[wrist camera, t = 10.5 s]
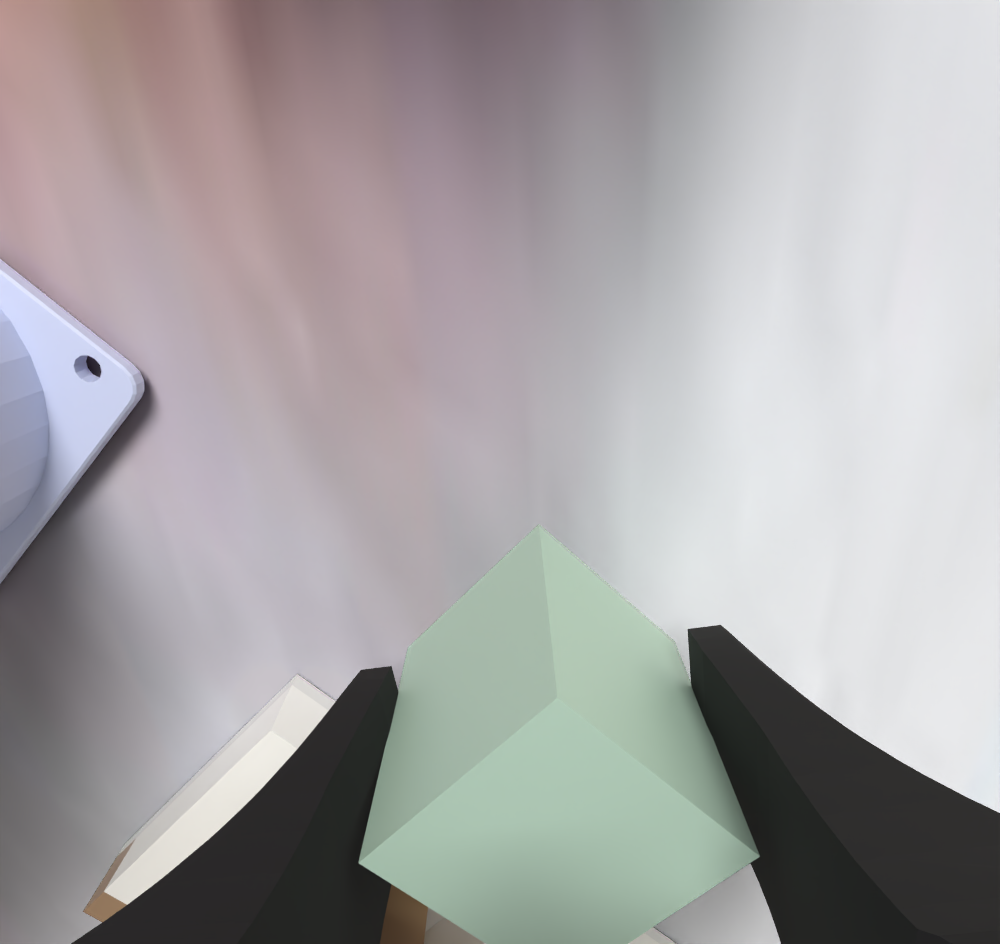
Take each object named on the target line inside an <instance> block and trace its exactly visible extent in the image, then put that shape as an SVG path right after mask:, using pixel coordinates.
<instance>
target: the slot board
mask: <svg viewBox="0 0 1000 944" xmlns="http://www.w3.org/2000/svg"><path fill="white" fill-rule="evenodd" d="M335 702H336V701H334V700H333V699H332V698H330V697H329V696H327V695H326V694H325V693H323V692H322V691H320V690H319V689H317V688H316V687H315V686H313V685H312V684H310V683H309V682H308V681H306V680H305V679H303V678H302V677H301V676H299V675H298V674H297V675H296V676H295V677H294V678H293V679H292V680H291V681H290V682H289V683H288V684H287V685H286V686H285V687H284V688H282V689H281V690H280V691H279V692H278V693H277V694H276V695H275V696H274V697H273V698H272V699H271V700H270V701H269V702H268V703H267V704H266V705H265V706H264V707H263V708H262V709H261V710H260V711H259V712H258V713H257V714H256V715H255V716H254V717H253V718H252V719H251V720H250V721H249V722H248V723H247V724H246V725H245V726H244V727H243V728H242V729H241V730H240V731H239V732H238V733H237V734H236V735H235V736H234V737H233V738H232V739H231V740H230V741H229V742H228V743H227V744H226V745H225V746H224V747H223V748H222V749H221V750H220V751H219V752H218V753H217V754H216V755H215V756H214V757H213V758H212V759H211V760H210V761H209V762H207V763H206V764H205V765H204V766H203V767H202V768H201V769H200V770H199V771H198V772H197V773H196V774H195V775H194V776H193V777H192V778H191V779H190V780H189V781H188V782H187V783H186V784H185V785H184V786H183V787H182V788H181V789H180V790H179V791H178V792H177V793H176V794H175V795H174V796H173V797H172V798H171V799H170V800H169V801H168V802H167V803H166V804H165V805H164V806H163V807H162V808H161V809H160V810H159V811H158V812H157V813H156V814H155V815H154V816H153V817H152V818H151V819H150V820H149V821H148V822H147V823H146V824H145V825H144V826H143V827H142V828H141V829H140V830H139V831H138V832H137V833H136V834H135V835H133V836H132V837H131V838H130V839H129V840H128V841H127V842H126V843H125V844H124V846H123V848H122V849H121V851H120V853H119V854H118V856H117V857H116V859H115V861H114V862H113V864H112V865H111V867H110V869H109V870H108V872H107V874H106V875H105V877H104V878H103V880H102V882H101V883H100V885H99V886H98V888H97V890H96V891H95V893H94V895H93V896H92V898H91V899H90V901H89V903H88V904H87V906H86V907H85V909H84V911H83V912H85V913H86V914H88V915H90V916H92V917H94V918H95V919H97V920H99V921H101V922H104V921H105V920H107V919H108V918H109V917H111V916H112V915H114V914H115V913H116V912H118V911H119V910H121V909H122V908H123V907H125V906H126V905H128V904H129V903H130V902H132V901H133V900H134V899H136V898H137V897H138V896H140V895H141V894H142V893H144V892H145V891H146V890H148V889H149V888H150V887H151V886H153V885H154V884H155V883H157V882H158V881H159V880H161V879H162V878H163V877H164V876H165V875H167V874H168V873H169V872H170V871H171V870H173V869H174V868H175V867H176V866H177V865H179V864H180V863H181V862H182V861H183V860H185V859H186V858H187V857H188V856H189V855H191V854H192V853H193V852H194V851H195V850H197V849H198V848H199V847H200V846H201V845H203V844H204V843H205V842H206V841H207V840H208V839H210V838H211V837H212V836H213V835H214V834H215V833H216V832H217V831H219V830H220V829H221V828H222V827H223V826H224V825H225V824H226V823H227V822H228V821H229V820H230V819H231V818H232V817H233V816H234V815H236V814H237V813H238V812H239V811H240V810H241V809H242V808H243V807H244V806H245V805H246V804H247V803H248V802H249V801H250V800H251V799H252V798H253V797H254V796H255V795H256V794H257V793H258V792H259V791H260V790H261V789H262V788H263V787H264V786H265V784H266V783H267V782H268V781H269V780H270V779H271V778H272V777H273V776H274V774H275V773H276V772H277V771H278V770H279V769H280V768H281V767H282V766H283V764H284V763H285V762H286V761H287V760H288V759H289V758H290V757H291V756H292V754H293V753H294V752H295V751H296V750H297V749H298V748H299V746H300V745H301V744H302V743H303V742H304V740H305V739H306V738H307V737H308V735H309V734H310V733H311V732H312V731H313V729H314V728H315V727H316V726H317V725H318V723H319V722H320V721H321V720H322V718H323V717H324V716H325V715H326V713H327V712H328V711H329V710H330V708H331V707H332V706H333V704H334V703H335ZM424 944H486V943H484V942H482V941H481V940H479V939H478V938H476V937H474V936H473V935H471V934H470V933H468V932H467V931H465V930H463V929H462V928H460V927H459V926H457V925H456V924H454V923H452V922H451V921H449V920H448V919H446V918H444V917H443V916H441V915H440V914H438V913H437V912H435V911H433V910H432V909H430V908H429V907H428V912H427V921H426V929H425V938H424ZM628 944H676V943H675V942H673V941H672V940H671V939H669V938H668V937H666V936H665V935H663V934H662V933H661V932H659V931H658V930H656V929H655V928H654V927H652V928H651V929H649V930H648V931H646V932H645V933H643V934H642V935H640V936H639V937H637V938H636V939H634V940H633V941H631V942H630V943H628Z"/></svg>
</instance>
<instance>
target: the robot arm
mask: <svg viewBox="0 0 1000 944" xmlns="http://www.w3.org/2000/svg"><path fill="white" fill-rule="evenodd" d="M88 356H90V357H92V358H94V359H95V360H96V361H97V362H98V363H99V364H100V367H101V371H102V372H101V376H100V377H97V376H95V375H93V374H92V373H91V372H90V370H89V369H88V367H87V363H86V360H87V357H88ZM143 393H144V380H143V377H142V375H141V373H140V371H139V370H138V369H137V368H136V367H135V366H134V365H133V364H132V363H131V362H130V361H128V360H127V359H126V358H125V357H123V356H122V355H121V354H120V353H118V352H117V351H116V350H115V349H113V348H112V347H111V346H109V345H108V344H107V343H106V342H104V341H103V340H102V339H101V338H99V337H98V336H97V335H96V334H94V333H93V332H92V331H91V330H89V329H88V328H87V327H86V326H84V325H83V324H82V323H80V322H79V321H78V320H77V319H75V318H74V317H73V316H72V315H70V314H69V313H68V312H67V311H65V310H64V309H63V308H62V307H60V306H59V305H58V304H56V303H55V302H54V301H53V300H51V299H50V298H49V297H48V296H46V295H45V294H44V293H43V292H41V291H40V290H39V289H38V288H36V287H35V286H34V285H32V284H31V283H30V282H29V281H27V280H26V279H25V278H24V277H22V276H21V275H20V274H19V273H17V272H16V271H15V270H14V269H12V268H11V267H10V266H9V265H7V264H6V263H5V262H3V261H2V260H1V259H0V584H1V582H2V581H3V580H4V578H5V577H6V576H7V575H8V573H9V572H10V571H11V569H12V568H13V567H14V565H15V564H16V563H17V561H18V560H19V559H20V557H21V556H22V555H23V553H24V552H25V551H26V549H27V548H28V547H29V546H30V544H31V543H32V542H33V540H34V539H35V538H36V536H37V535H38V534H39V532H40V531H41V530H42V528H43V527H44V526H45V524H46V523H47V522H48V520H49V519H50V518H51V517H52V515H53V514H54V513H55V511H56V510H57V509H58V507H59V506H60V505H61V503H62V502H63V501H64V499H65V498H66V497H67V495H68V494H69V493H70V491H71V490H72V489H73V488H74V486H75V485H76V484H77V482H78V481H79V480H80V478H81V477H82V476H83V474H84V473H85V472H86V470H87V469H88V468H89V466H90V465H91V464H92V462H93V461H94V460H95V459H96V457H97V456H98V455H99V453H100V452H101V451H102V449H103V448H104V447H105V445H106V444H107V443H108V441H109V440H110V439H111V437H112V436H113V435H114V433H115V432H116V431H117V430H118V428H119V427H120V426H121V424H122V423H123V422H124V420H125V419H126V418H127V416H128V415H129V414H130V412H131V411H132V410H133V408H134V407H135V406H136V404H137V403H138V402H139V401H140V399H141V397H142V395H143ZM688 642H689V657H690V673H691V687H692V689H693V692H694V694H695V697H696V700H697V702H698V705H699V707H700V710H701V712H702V715H703V717H704V720H705V722H706V725H707V727H708V729H709V731H710V733H711V735H712V737H713V740H714V742H715V745H716V747H717V750H718V752H719V755H720V757H721V760H722V762H723V765H724V767H725V770H726V772H727V775H728V777H729V780H730V782H731V785H732V787H733V790H734V792H735V795H736V797H737V800H738V802H739V805H740V807H741V810H742V812H743V815H744V817H745V820H746V822H747V825H748V827H749V830H750V832H751V835H752V837H753V840H754V842H755V845H756V847H757V850H758V852H759V855H760V857H759V858H757V859H756V860H754V861H753V862H751V865H752V867H753V870H754V872H755V874H756V877H757V879H758V881H759V883H760V886H761V888H762V891H763V894H764V896H765V899H766V901H767V904H768V906H769V909H770V912H771V914H772V917H773V920H774V923H775V926H776V929H777V932H778V935H779V938H780V941H781V944H1000V813H998V812H996V811H994V810H992V809H990V808H988V807H986V806H984V805H982V804H979V803H977V802H975V801H973V800H971V799H969V798H967V797H965V796H963V795H961V794H959V793H957V792H955V791H954V790H952V789H950V788H948V787H946V786H944V785H942V784H940V783H938V782H936V781H935V780H933V779H931V778H929V777H927V776H925V775H923V774H921V773H920V772H918V771H916V770H914V769H913V768H911V767H909V766H907V765H905V764H904V763H902V762H900V761H899V760H897V759H895V758H894V757H892V756H890V755H889V754H887V753H886V752H884V751H882V750H881V749H879V748H877V747H876V746H874V745H873V744H871V743H869V742H868V741H866V740H864V739H863V738H861V737H860V736H858V735H857V734H855V733H854V732H852V731H851V730H849V729H848V728H846V727H845V726H843V725H842V724H841V723H839V722H838V721H836V720H835V719H834V718H832V717H831V716H830V715H828V714H827V713H825V712H824V711H823V710H821V709H820V708H819V707H817V706H816V705H815V704H813V703H812V702H811V701H809V700H808V699H807V698H806V697H804V696H803V695H802V694H801V693H799V692H798V691H797V690H796V689H794V688H793V687H792V686H791V685H789V684H788V683H787V682H786V681H784V680H783V679H782V678H781V677H780V676H778V675H777V674H776V673H775V672H774V671H772V670H771V669H770V668H769V667H768V666H767V665H765V664H764V663H763V662H762V661H761V660H760V659H759V658H757V657H756V656H755V655H754V654H753V653H752V652H751V651H749V650H748V649H747V648H746V647H745V646H744V645H743V644H742V643H741V642H739V641H738V640H737V639H736V638H735V637H734V636H733V635H732V634H731V633H730V632H728V631H727V630H726V629H725V628H724V627H722V626H721V625H717V626H709V627H701V628H693V629H688ZM397 697H398V689H397V685H396V682H395V678H394V674H393V670H392V666H389V667H381V668H373V669H365V670H361V671H360V672H359V673H358V674H357V676H356V677H355V678H354V679H353V681H352V682H351V683H350V684H349V685H348V687H347V688H346V689H345V690H344V692H343V693H342V694H341V696H340V697H339V698H338V699H337V701H336V702H335V703H334V704H333V706H332V707H331V708H330V710H329V711H328V712H327V713H326V715H325V716H324V717H323V718H322V720H321V721H320V722H319V723H318V725H317V726H316V727H315V728H314V729H313V731H312V732H311V733H310V734H309V735H308V737H307V738H306V739H305V740H304V742H303V743H302V744H301V745H300V746H299V748H298V749H297V750H296V751H295V752H294V753H293V754H292V756H291V757H290V758H289V759H288V760H287V761H286V762H285V763H284V764H283V766H282V767H281V768H280V769H279V770H278V771H277V772H276V773H275V774H274V776H273V777H272V778H271V779H270V780H269V781H268V782H267V783H266V784H265V786H264V787H263V788H262V789H261V790H260V791H259V792H258V793H257V794H256V795H255V796H254V797H253V798H252V799H251V800H250V801H249V802H248V803H247V804H246V805H245V806H244V807H243V808H242V809H241V810H240V811H239V812H238V813H237V814H236V815H234V816H233V817H232V818H231V819H230V820H229V821H228V822H227V823H226V824H225V825H224V826H223V827H222V828H221V829H220V830H219V831H217V832H216V833H215V834H214V835H213V836H212V837H211V838H210V839H208V840H207V841H206V842H205V843H204V844H203V845H201V846H200V847H199V848H198V849H197V850H195V851H194V852H193V853H192V854H191V855H189V856H188V857H187V858H186V859H185V860H183V861H182V862H181V863H180V864H179V865H177V866H176V867H175V868H174V869H173V870H171V871H170V872H169V873H168V874H167V875H165V876H164V877H163V878H162V879H161V880H159V881H158V882H157V883H155V884H154V885H153V886H151V887H150V888H149V889H148V890H146V891H145V892H144V893H142V894H141V895H140V896H138V897H137V898H136V899H134V900H133V901H132V902H130V903H129V904H128V905H126V906H125V907H123V908H122V909H121V910H119V911H118V912H116V913H115V914H114V915H112V916H111V917H109V918H108V919H107V920H105V921H104V922H102V923H101V924H100V925H98V926H97V927H95V928H94V929H92V930H91V931H89V932H88V933H87V934H85V935H84V936H82V937H81V938H79V939H78V940H76V941H74V942H73V943H71V944H380V941H381V935H382V929H383V923H384V918H385V913H386V908H387V903H388V898H389V894H390V889H391V883H389V882H388V881H386V880H384V879H383V878H381V877H380V876H378V875H376V874H375V873H373V872H372V871H370V870H369V869H367V868H365V867H364V866H362V865H361V864H359V863H358V862H359V858H360V854H361V849H362V845H363V841H364V836H365V832H366V827H367V823H368V819H369V814H370V810H371V806H372V801H373V797H374V793H375V788H376V784H377V780H378V775H379V771H380V767H381V762H382V758H383V754H384V749H385V745H386V742H387V739H388V735H389V732H390V728H391V724H392V719H393V715H394V710H395V706H396V702H397Z"/></svg>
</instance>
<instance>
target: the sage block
mask: <svg viewBox="0 0 1000 944" xmlns="http://www.w3.org/2000/svg"><path fill="white" fill-rule="evenodd" d="M759 857H760V855H759V852H758V850H757V847H756V845H755V842H754V840H753V837H752V835H751V832H750V830H749V827H748V825H747V822H746V820H745V817H744V815H743V812H742V810H741V807H740V805H739V802H738V800H737V797H736V795H735V792H734V790H733V787H732V785H731V782H730V780H729V777H728V775H727V772H726V770H725V767H724V765H723V762H722V760H721V757H720V755H719V752H718V750H717V747H716V745H715V742H714V740H713V737H712V735H711V733H710V731H709V729H708V727H707V725H706V722H705V720H704V717H703V715H702V712H701V710H700V707H699V705H698V702H697V700H696V697H695V694H694V692H693V689H692V687H691V682H690V679H689V677H688V674H687V672H686V669H685V667H684V664H683V662H682V659H681V657H680V654H679V652H678V649H677V647H676V644H675V642H674V641H673V640H672V639H671V638H670V637H669V636H668V635H666V634H665V633H664V632H663V631H662V630H661V629H659V628H658V627H657V626H656V625H655V624H654V623H653V622H651V621H650V620H649V619H648V618H647V617H646V616H644V615H643V614H642V613H641V612H640V611H639V610H638V609H636V608H635V607H634V606H633V605H632V604H631V603H629V602H628V601H627V600H626V599H625V598H624V597H622V596H621V595H620V594H619V593H618V592H617V591H616V590H614V589H613V588H612V587H611V586H610V585H609V584H607V583H606V582H605V581H604V580H603V579H602V578H601V577H599V576H598V575H597V574H596V573H595V572H594V571H592V570H591V569H590V568H589V567H588V566H587V565H585V564H584V563H583V562H582V561H581V560H580V559H579V558H577V557H576V556H575V555H574V554H573V553H572V552H570V551H569V550H568V549H567V548H566V547H565V546H564V545H562V544H561V543H560V542H559V541H558V540H557V539H555V538H554V537H553V536H552V535H551V534H550V533H548V532H547V531H546V530H545V529H544V528H543V527H542V526H540V525H537V526H536V527H535V528H534V529H533V530H532V531H531V532H530V533H529V534H528V535H527V536H526V537H525V538H524V539H523V540H522V541H521V542H519V543H518V544H517V545H516V546H515V547H514V548H513V549H512V550H511V551H510V552H509V553H508V554H507V555H506V556H505V557H504V558H502V559H501V560H500V561H499V562H498V563H497V564H496V565H495V566H494V567H493V568H492V569H491V570H490V571H489V572H488V573H487V574H485V575H484V576H483V577H482V578H481V579H480V580H479V581H478V582H477V583H476V584H475V585H474V586H473V587H472V588H471V589H470V590H468V591H467V592H466V593H465V594H464V595H463V596H462V597H461V598H460V599H459V600H458V601H457V602H456V603H455V604H454V605H453V606H452V607H450V608H449V609H448V610H447V611H446V612H445V613H444V614H443V615H442V616H441V617H440V618H439V619H438V620H437V621H436V622H435V623H433V624H432V625H431V626H430V627H429V628H428V629H427V630H426V631H425V632H424V633H423V634H422V635H421V636H420V637H419V638H418V639H416V640H415V641H414V642H413V643H412V644H411V645H410V646H409V647H408V649H407V654H406V658H405V663H404V667H403V671H402V676H401V680H400V684H399V689H398V697H397V702H396V706H395V710H394V715H393V719H392V724H391V728H390V732H389V735H388V739H387V742H386V745H385V749H384V754H383V758H382V762H381V767H380V771H379V775H378V780H377V784H376V788H375V793H374V797H373V801H372V806H371V810H370V814H369V819H368V823H367V827H366V832H365V836H364V841H363V845H362V849H361V854H360V858H359V862H358V863H359V864H361V865H362V866H364V867H365V868H367V869H369V870H370V871H372V872H373V873H375V874H376V875H378V876H380V877H381V878H383V879H384V880H386V881H388V882H389V883H391V884H392V885H394V886H395V887H397V888H399V889H400V890H402V891H403V892H405V893H406V894H408V895H410V896H411V897H413V898H414V899H416V900H418V901H419V902H421V903H422V904H424V905H425V906H427V907H429V908H430V909H432V910H433V911H435V912H437V913H438V914H440V915H441V916H443V917H444V918H446V919H448V920H449V921H451V922H452V923H454V924H456V925H457V926H459V927H460V928H462V929H463V930H465V931H467V932H468V933H470V934H471V935H473V936H474V937H476V938H478V939H479V940H481V941H482V942H484V943H486V944H628V943H630V942H631V941H633V940H634V939H636V938H637V937H639V936H640V935H642V934H643V933H645V932H646V931H648V930H649V929H651V928H652V927H654V926H655V925H657V924H658V923H660V922H662V921H663V920H665V919H666V918H668V917H669V916H671V915H672V914H674V913H675V912H677V911H678V910H680V909H681V908H683V907H684V906H686V905H687V904H689V903H690V902H692V901H693V900H695V899H696V898H698V897H699V896H701V895H702V894H704V893H706V892H707V891H709V890H710V889H712V888H713V887H715V886H716V885H718V884H719V883H721V882H722V881H724V880H725V879H727V878H728V877H730V876H731V875H733V874H734V873H736V872H737V871H739V870H740V869H742V868H743V867H745V866H746V865H748V864H749V863H751V862H753V861H754V860H756V859H757V858H759Z"/></svg>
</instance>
